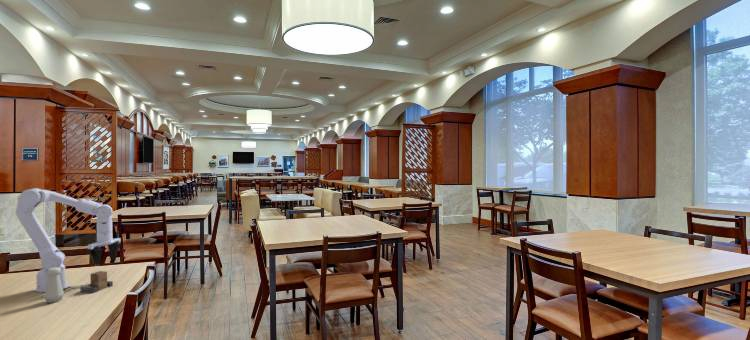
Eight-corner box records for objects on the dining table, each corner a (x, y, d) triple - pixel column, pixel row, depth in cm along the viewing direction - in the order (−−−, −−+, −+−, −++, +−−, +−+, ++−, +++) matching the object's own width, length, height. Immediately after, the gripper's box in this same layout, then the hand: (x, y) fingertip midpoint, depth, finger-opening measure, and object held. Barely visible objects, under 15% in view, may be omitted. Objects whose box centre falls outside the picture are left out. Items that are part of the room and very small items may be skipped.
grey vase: (52, 304, 139) (51, 270, 139) (40, 303, 140) (39, 269, 140) (67, 298, 145) (67, 266, 144) (56, 297, 146) (55, 265, 146)
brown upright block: (90, 290, 155) (90, 273, 155) (99, 287, 159) (99, 271, 159) (98, 290, 154) (98, 274, 154) (107, 287, 158) (107, 271, 158)
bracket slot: (80, 291, 153) (80, 286, 153) (99, 284, 161) (99, 280, 161) (94, 292, 152) (94, 287, 152) (112, 285, 160) (112, 281, 160)
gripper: (97, 235, 157) (97, 266, 157) (126, 229, 171) (126, 257, 171) (83, 234, 158) (84, 265, 158) (113, 228, 172) (113, 257, 173)
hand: (105, 261), depth 165 cm, fingers open, 7 cm apart
